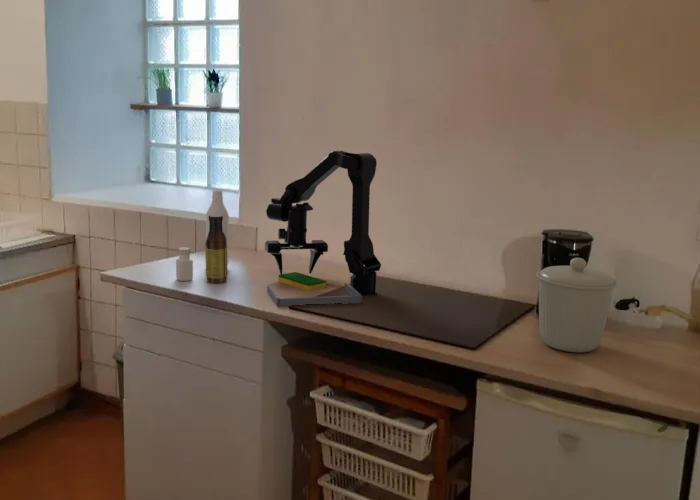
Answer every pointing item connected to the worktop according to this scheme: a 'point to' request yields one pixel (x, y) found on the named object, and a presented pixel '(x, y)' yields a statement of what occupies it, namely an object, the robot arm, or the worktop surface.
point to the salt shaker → (184, 265)
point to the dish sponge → (302, 281)
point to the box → (317, 298)
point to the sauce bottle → (216, 251)
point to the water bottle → (219, 209)
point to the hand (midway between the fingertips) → (295, 273)
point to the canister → (574, 305)
